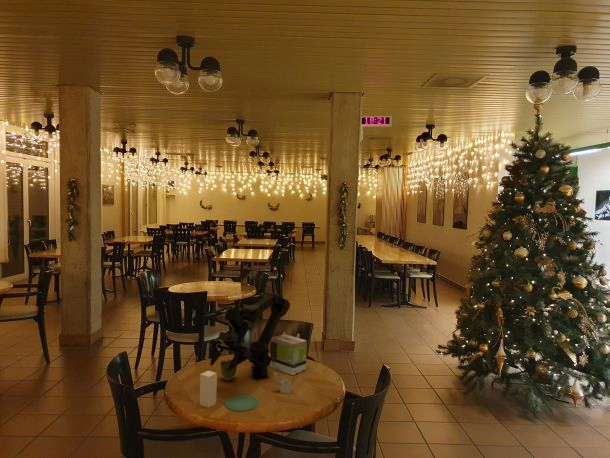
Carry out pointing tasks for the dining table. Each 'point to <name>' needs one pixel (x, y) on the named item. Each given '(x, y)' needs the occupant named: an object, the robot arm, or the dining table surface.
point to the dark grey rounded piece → (224, 370)
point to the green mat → (241, 403)
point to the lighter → (283, 384)
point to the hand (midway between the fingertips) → (219, 367)
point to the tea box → (288, 354)
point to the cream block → (208, 388)
